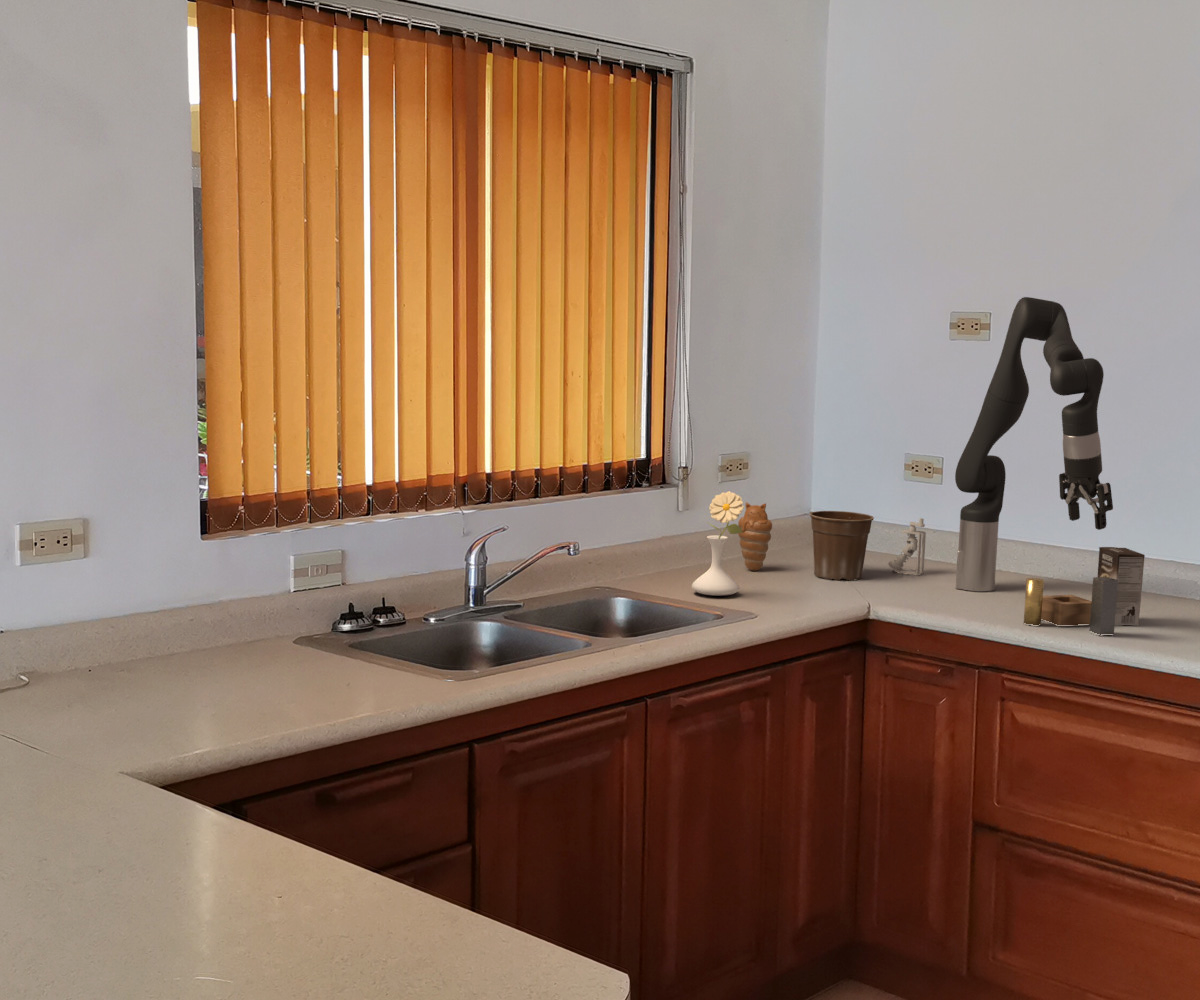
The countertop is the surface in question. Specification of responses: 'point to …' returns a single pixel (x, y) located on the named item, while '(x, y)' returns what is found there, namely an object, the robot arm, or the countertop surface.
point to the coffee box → (1124, 581)
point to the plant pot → (839, 543)
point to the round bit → (1033, 601)
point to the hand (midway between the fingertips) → (1087, 524)
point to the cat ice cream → (754, 535)
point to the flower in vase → (720, 547)
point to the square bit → (1103, 605)
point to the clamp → (911, 549)
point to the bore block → (1066, 610)
